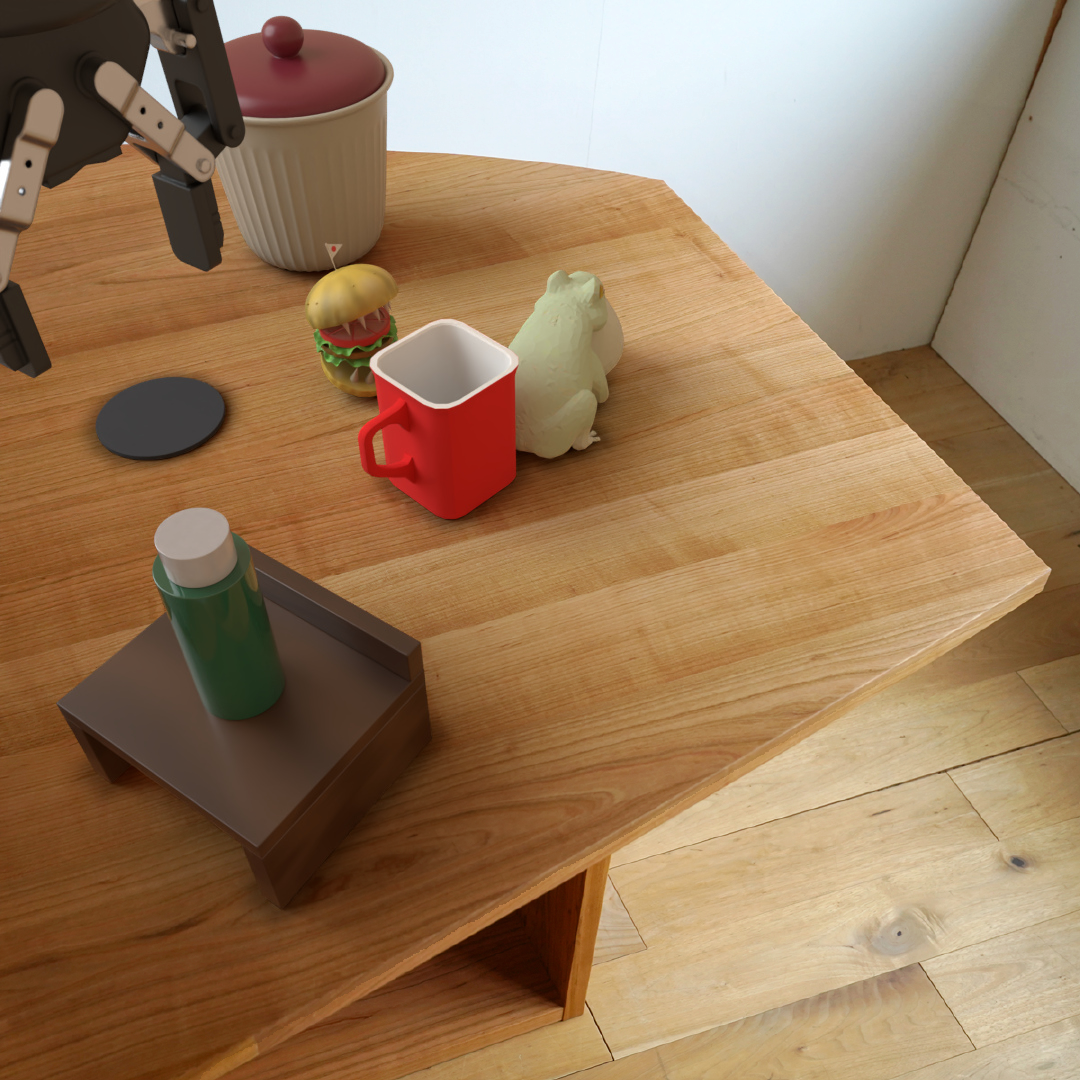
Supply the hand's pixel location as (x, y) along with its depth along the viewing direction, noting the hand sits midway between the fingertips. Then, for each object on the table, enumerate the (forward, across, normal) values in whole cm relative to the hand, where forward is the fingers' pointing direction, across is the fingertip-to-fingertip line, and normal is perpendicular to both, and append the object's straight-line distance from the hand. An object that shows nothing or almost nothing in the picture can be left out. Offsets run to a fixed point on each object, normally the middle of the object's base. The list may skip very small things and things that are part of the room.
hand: (118, 312), depth 41 cm
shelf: (+30, +1, +1) cm, 30 cm away
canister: (+30, -45, -36) cm, 65 cm away
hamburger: (+30, -30, -18) cm, 47 cm away
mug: (+30, -23, -5) cm, 39 cm away
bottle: (+23, +1, +1) cm, 23 cm away
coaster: (+30, -18, -28) cm, 45 cm away
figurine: (+31, -37, -3) cm, 48 cm away
